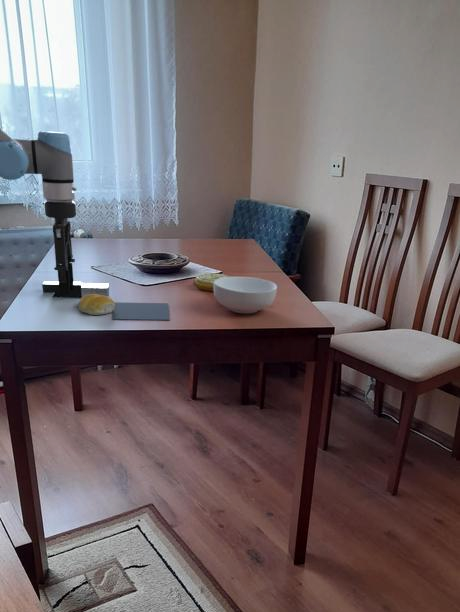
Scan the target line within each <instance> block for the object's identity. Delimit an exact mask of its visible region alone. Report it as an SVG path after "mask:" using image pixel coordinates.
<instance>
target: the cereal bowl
mask: <svg viewBox="0 0 460 612" xmlns="http://www.w3.org/2000/svg"><path fill="white" fill-rule="evenodd" d="M277 292H278V285H277V284H276V283H274V282H273V281H270V280H268V279H264V278H259V277H253V276H228V277H222V278H218V279H216V280H215V281H214V291H213V295H214V297H215V299H216V301H217V302H218V303H219V304H220V305H222V306H224V307H226V308H228V311H231V312H233V313H235V314H236V313H237V314H245V315H247V314H248V315H249V314H255V313H257V312H258V311H260V310H264V309H266V308H268V307H270V306H271V305H272V304H273V303H274V302H275V299H276V296H277Z"/></svg>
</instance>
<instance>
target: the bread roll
mask: <svg viewBox="0 0 460 612" xmlns="http://www.w3.org/2000/svg"><path fill="white" fill-rule="evenodd" d="M114 307H115V301H114V300H113V299H112V298H110V296H109V297H107V296H102V295H99V294H89V295H86V296H84V297H83V298H80V300H79V303H78V308H79V311H80V312H82V313H84V314H88V315H91V316H102V315H108V314H111V313H113V311H114Z"/></svg>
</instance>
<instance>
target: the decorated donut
mask: <svg viewBox="0 0 460 612" xmlns="http://www.w3.org/2000/svg"><path fill="white" fill-rule="evenodd" d="M222 277H229V276H228V275H227V274H222V273H214V272H204V273H200V274H197V275H196V276H195V278H194V279H195V280H194V281H195V285H196V286H197V288H198V289H200V290H202V291H209V292H214V281H215V280H216V279H218V278H222Z"/></svg>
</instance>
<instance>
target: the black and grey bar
mask: <svg viewBox="0 0 460 612" xmlns="http://www.w3.org/2000/svg"><path fill="white" fill-rule="evenodd" d="M41 285H42V293H43V294H53V295H52V298H69V299H71V298H73V299H76V298H77V299H78V298H79V299H82V298H83V297H84V296H86V295H89V294H99V295H102V296H107V297H109V298H110V285H109V283H93V282H92V283H91V282H89V283H88V282H87V283H85V282H84V283H83V282H82V281H74V282H70V293H71V294H70V295H60V292H59V281H51V280H50V281H49V280H48V281H47V280H46V281H45V280H44V281H43V283H42V284H41Z"/></svg>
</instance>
